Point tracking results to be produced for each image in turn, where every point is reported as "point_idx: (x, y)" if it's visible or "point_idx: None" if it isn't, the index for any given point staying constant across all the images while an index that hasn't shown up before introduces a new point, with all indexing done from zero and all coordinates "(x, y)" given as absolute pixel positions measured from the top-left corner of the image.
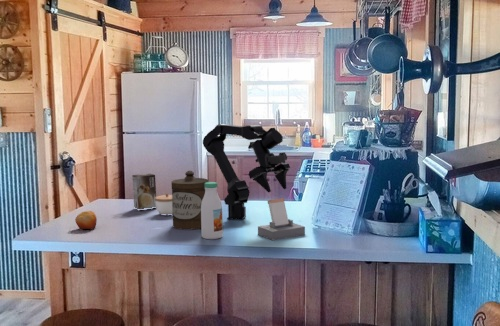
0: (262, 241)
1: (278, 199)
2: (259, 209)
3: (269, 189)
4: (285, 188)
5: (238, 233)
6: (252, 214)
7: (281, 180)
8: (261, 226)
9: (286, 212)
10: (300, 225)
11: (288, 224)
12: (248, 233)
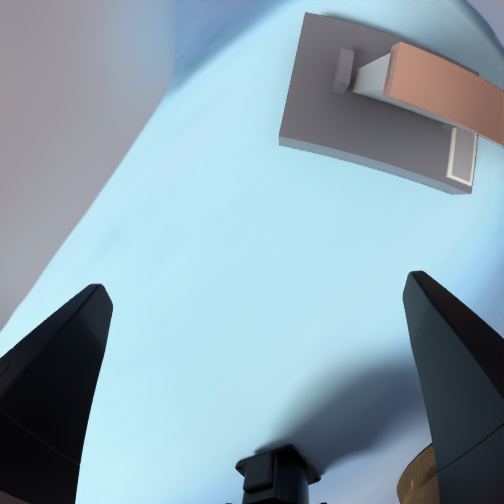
0: None
1: (457, 68)
2: (119, 476)
3: (437, 283)
4: (103, 286)
5: (481, 275)
6: (186, 464)
7: (58, 399)
8: (470, 168)
9: (370, 63)
10: (303, 37)
11: (355, 74)
12: (461, 243)
